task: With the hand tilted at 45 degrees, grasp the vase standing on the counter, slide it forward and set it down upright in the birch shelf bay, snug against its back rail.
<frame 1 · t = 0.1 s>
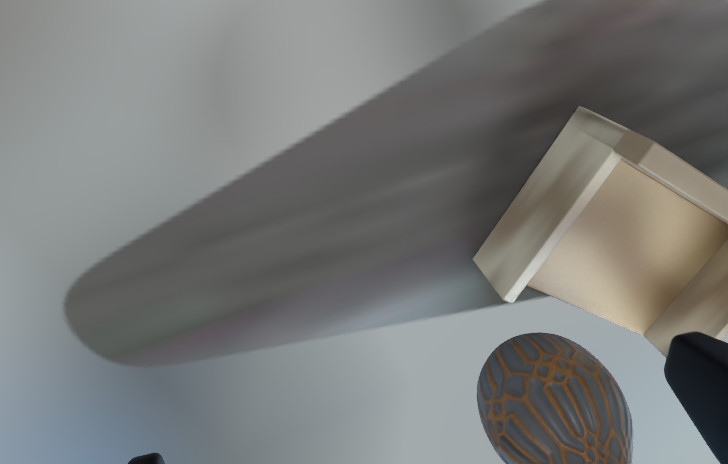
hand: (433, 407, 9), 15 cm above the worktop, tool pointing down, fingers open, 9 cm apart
vase: (516, 359, 31), on the worktop
shoe shelf: (601, 255, 28), on the worktop
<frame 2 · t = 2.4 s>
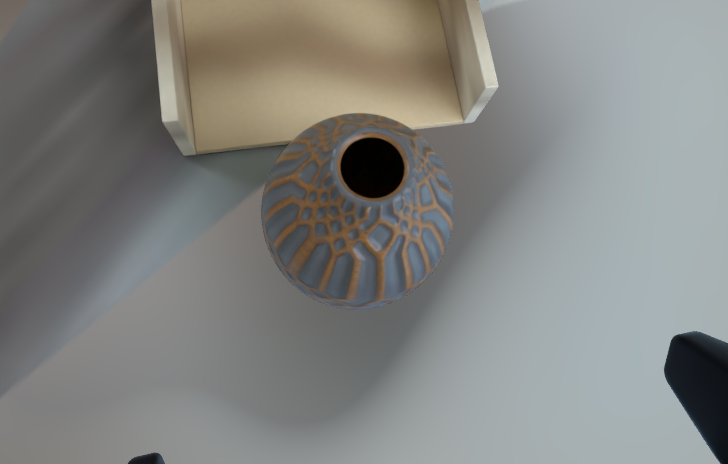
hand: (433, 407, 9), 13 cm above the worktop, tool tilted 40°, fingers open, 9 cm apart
vase: (349, 236, 23), on the worktop
shoe shelf: (324, 78, 25), on the worktop
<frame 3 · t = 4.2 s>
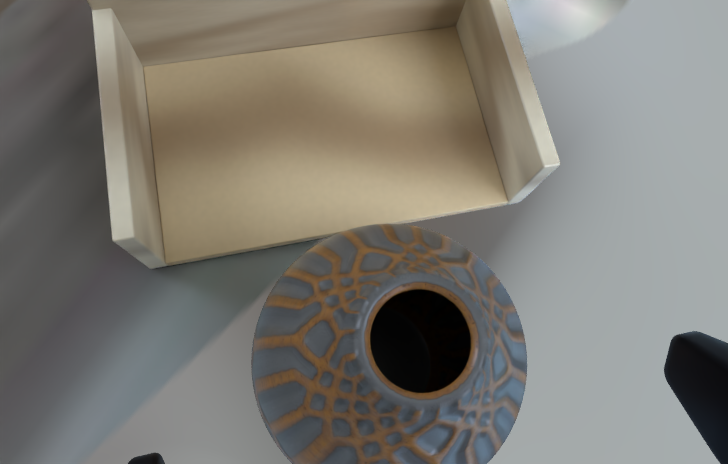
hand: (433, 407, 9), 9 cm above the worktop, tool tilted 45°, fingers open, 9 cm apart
vase: (371, 364, 18), on the worktop
shoe shelf: (327, 156, 20), on the worktop
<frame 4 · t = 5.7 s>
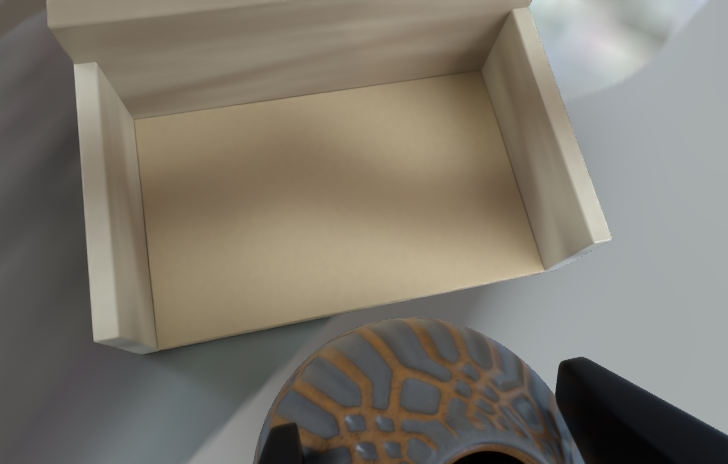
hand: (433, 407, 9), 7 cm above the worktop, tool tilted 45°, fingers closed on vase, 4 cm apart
vase: (382, 460, 15), on the worktop, touching gripper
shoe shelf: (341, 219, 17), on the worktop
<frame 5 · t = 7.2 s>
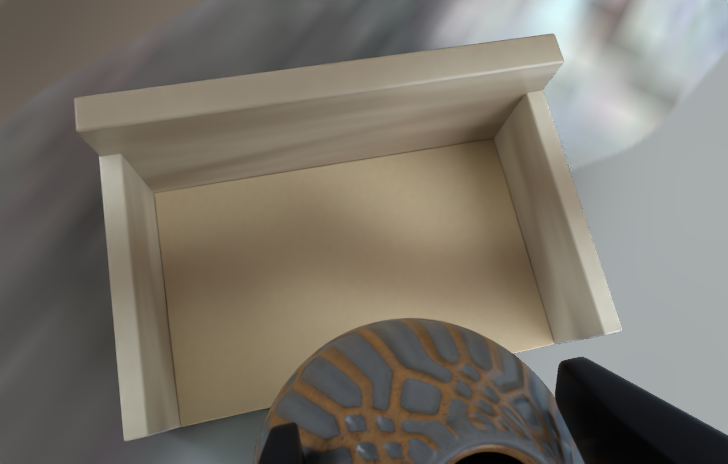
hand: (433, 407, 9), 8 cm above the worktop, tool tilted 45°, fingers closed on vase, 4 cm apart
vase: (381, 461, 15), point 1 cm above the worktop, touching gripper
shoe shelf: (356, 292, 18), on the worktop
when the fingers open (7 cm above the worktop, at t = 9.0 s): vase stays where it is, resting on shoe shelf.
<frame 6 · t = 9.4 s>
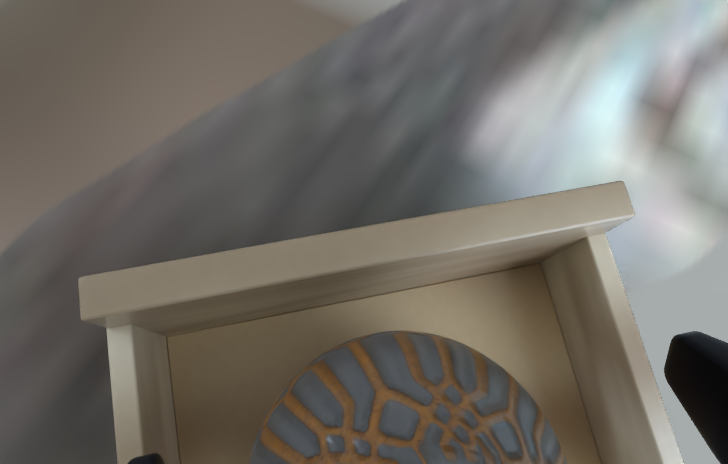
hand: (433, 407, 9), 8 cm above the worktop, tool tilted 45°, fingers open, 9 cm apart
shoe shelf: (392, 447, 16), on the worktop
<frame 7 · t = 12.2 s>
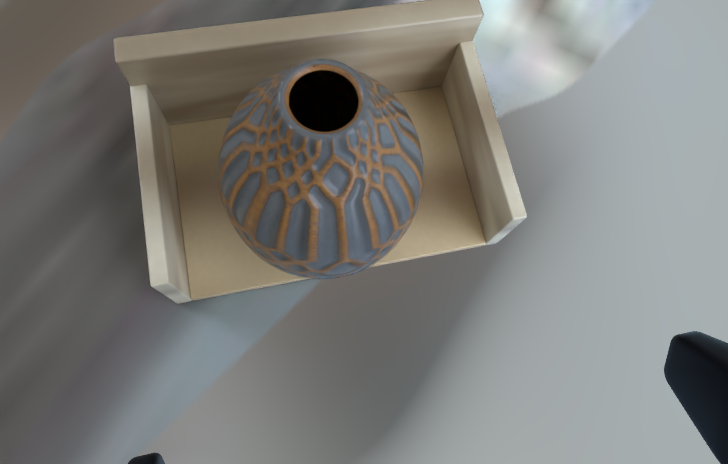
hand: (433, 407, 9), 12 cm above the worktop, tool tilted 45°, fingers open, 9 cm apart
vase: (321, 212, 22), resting on shoe shelf
shoe shelf: (329, 203, 23), on the worktop
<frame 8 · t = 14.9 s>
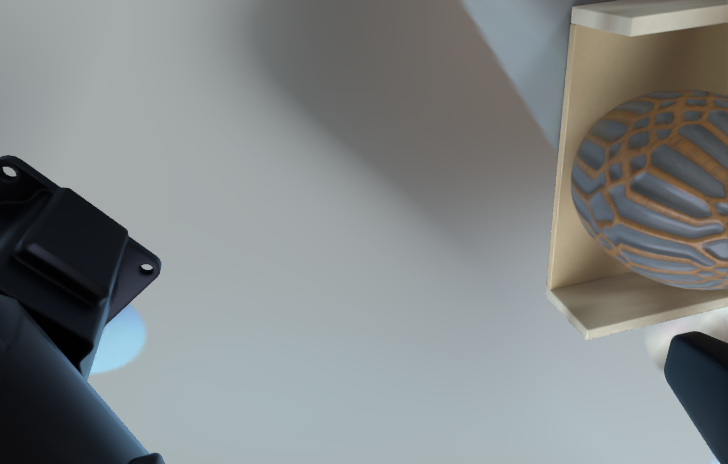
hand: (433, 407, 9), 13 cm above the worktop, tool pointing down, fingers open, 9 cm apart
vase: (615, 153, 23), resting on shoe shelf
shoe shelf: (618, 159, 24), on the worktop
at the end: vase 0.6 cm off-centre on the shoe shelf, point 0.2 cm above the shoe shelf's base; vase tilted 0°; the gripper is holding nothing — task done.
